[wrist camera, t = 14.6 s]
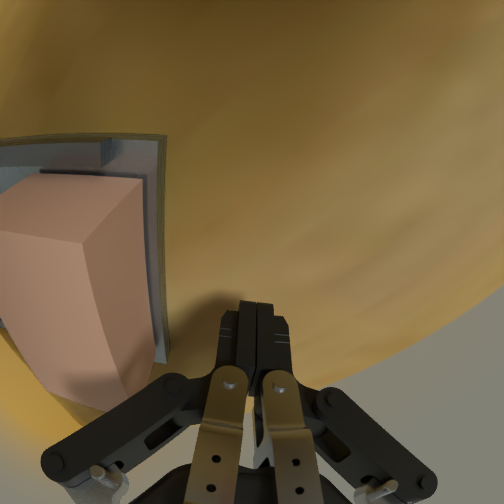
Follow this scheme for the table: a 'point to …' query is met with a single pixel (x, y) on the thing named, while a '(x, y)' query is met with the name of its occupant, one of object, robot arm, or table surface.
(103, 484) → the robot arm
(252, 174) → the table surface
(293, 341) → the table surface
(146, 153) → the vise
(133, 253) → the pink rectangular block
